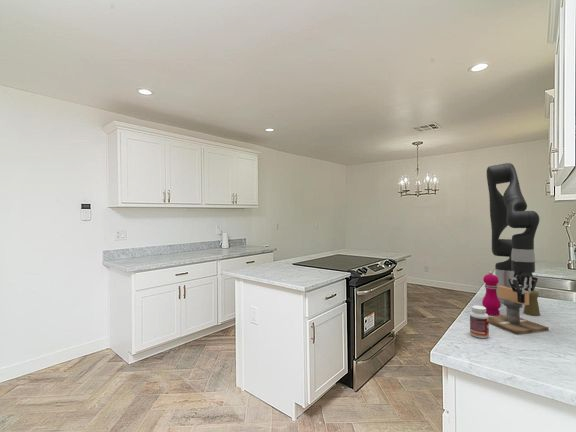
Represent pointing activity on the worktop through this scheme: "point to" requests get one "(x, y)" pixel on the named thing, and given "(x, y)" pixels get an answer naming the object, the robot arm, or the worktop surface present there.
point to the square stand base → (515, 323)
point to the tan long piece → (512, 297)
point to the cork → (532, 305)
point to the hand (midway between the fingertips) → (523, 302)
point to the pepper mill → (491, 295)
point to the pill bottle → (479, 322)
